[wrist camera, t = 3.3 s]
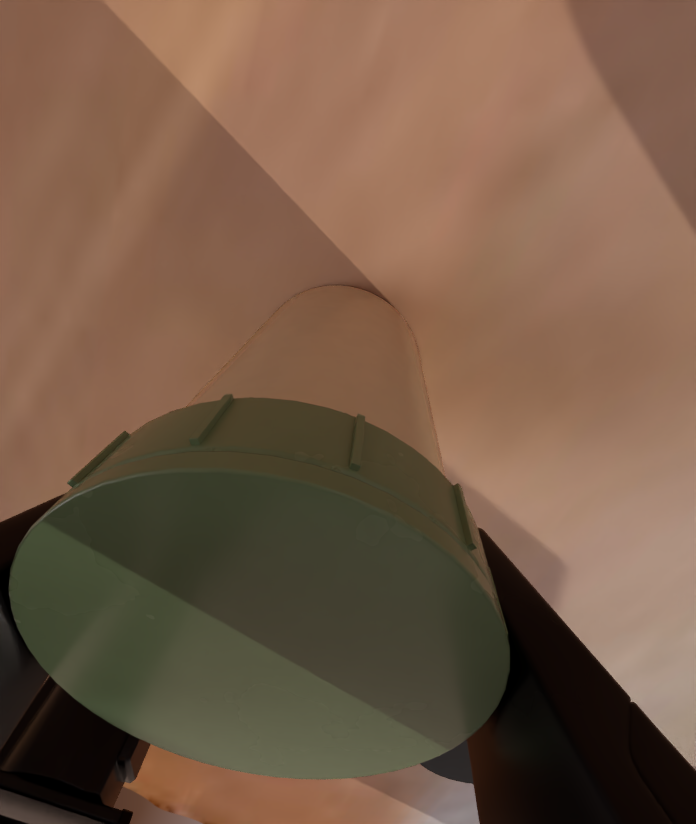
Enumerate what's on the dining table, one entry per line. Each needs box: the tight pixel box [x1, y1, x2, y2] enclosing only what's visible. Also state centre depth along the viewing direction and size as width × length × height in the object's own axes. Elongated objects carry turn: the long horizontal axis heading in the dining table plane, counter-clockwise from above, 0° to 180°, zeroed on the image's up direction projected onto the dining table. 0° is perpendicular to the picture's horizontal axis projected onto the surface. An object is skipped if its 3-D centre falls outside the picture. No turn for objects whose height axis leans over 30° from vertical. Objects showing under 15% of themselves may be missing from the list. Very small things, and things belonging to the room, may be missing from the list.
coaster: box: [420, 740, 474, 784], centre depth 27 cm, size 10×10×1 cm
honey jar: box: [186, 285, 446, 477], centre depth 10 cm, size 6×6×10 cm
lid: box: [8, 394, 510, 779], centre depth 6 cm, size 7×7×2 cm
